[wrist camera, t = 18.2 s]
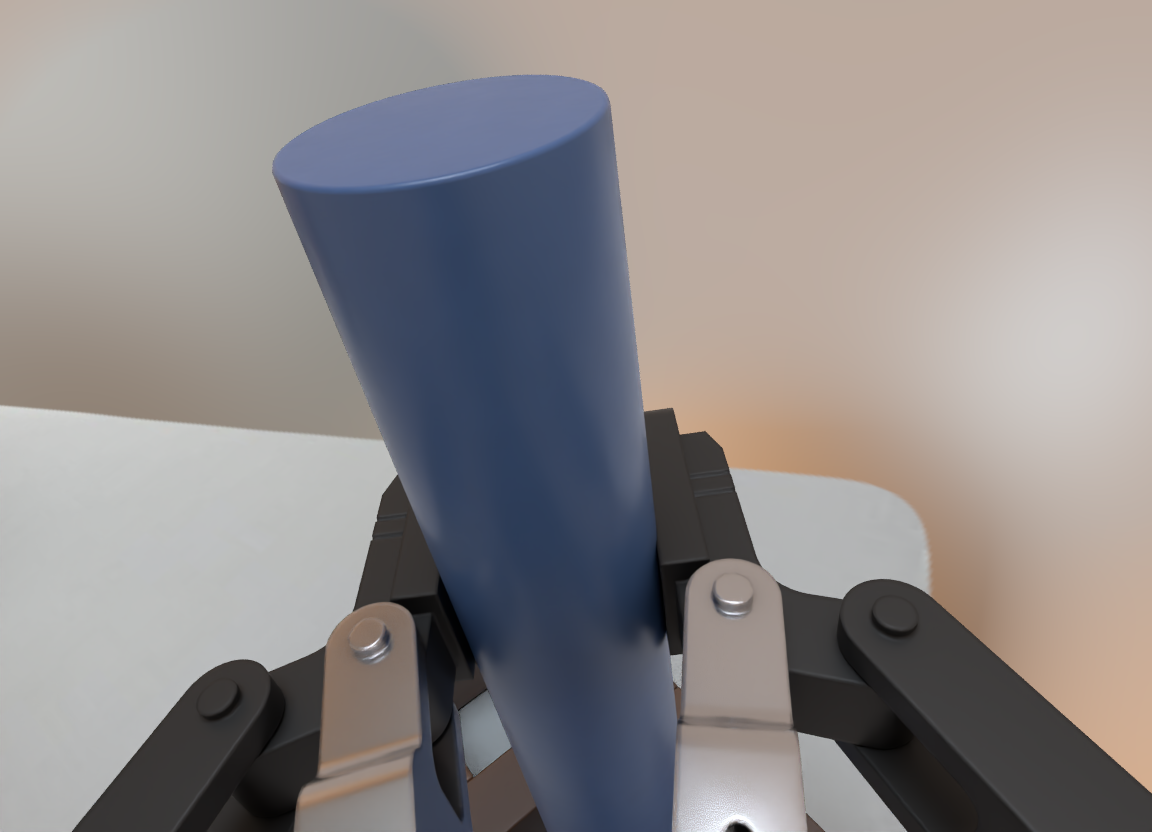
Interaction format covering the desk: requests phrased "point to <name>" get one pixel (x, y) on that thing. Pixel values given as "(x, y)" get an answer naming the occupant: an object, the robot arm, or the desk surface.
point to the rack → (514, 781)
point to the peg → (511, 408)
